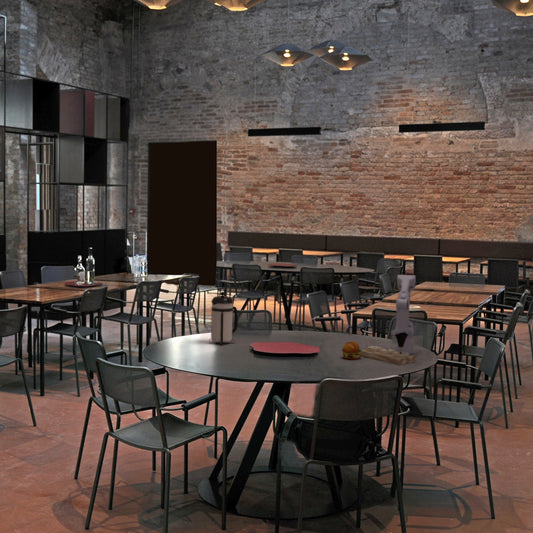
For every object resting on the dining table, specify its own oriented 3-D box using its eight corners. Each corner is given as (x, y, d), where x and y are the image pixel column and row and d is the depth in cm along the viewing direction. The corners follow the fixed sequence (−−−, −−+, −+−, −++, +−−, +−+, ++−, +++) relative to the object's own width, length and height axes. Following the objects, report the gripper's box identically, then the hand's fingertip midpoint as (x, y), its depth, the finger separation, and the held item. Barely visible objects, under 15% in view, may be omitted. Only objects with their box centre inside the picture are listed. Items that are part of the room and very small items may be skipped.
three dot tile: (399, 355, 395) (399, 350, 395) (408, 357, 391) (408, 352, 391) (392, 357, 391) (392, 352, 391) (401, 359, 387) (401, 354, 387)
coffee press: (235, 346, 423) (236, 293, 420) (207, 345, 423) (208, 293, 421) (237, 340, 440) (238, 290, 438) (210, 339, 440) (211, 289, 438)
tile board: (375, 352, 413) (375, 347, 413) (416, 361, 392) (416, 356, 392) (358, 355, 404) (359, 350, 404) (399, 365, 383) (399, 359, 383)
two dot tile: (386, 353, 402) (386, 348, 402) (395, 354, 398) (395, 349, 397) (379, 354, 398) (379, 349, 398) (387, 356, 394) (388, 351, 393)
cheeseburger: (364, 357, 400) (364, 340, 397) (357, 365, 392) (356, 347, 389) (347, 354, 405) (346, 337, 402) (339, 362, 397) (338, 345, 394)
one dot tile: (373, 350, 409) (374, 345, 409) (382, 352, 404) (382, 347, 404) (366, 351, 405) (366, 346, 405) (375, 353, 400) (375, 348, 400)
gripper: (399, 323, 382) (398, 349, 383) (416, 321, 391) (415, 346, 392) (388, 321, 387) (387, 347, 388) (405, 319, 397) (404, 344, 398)
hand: (400, 347), depth 391 cm, fingers closed
